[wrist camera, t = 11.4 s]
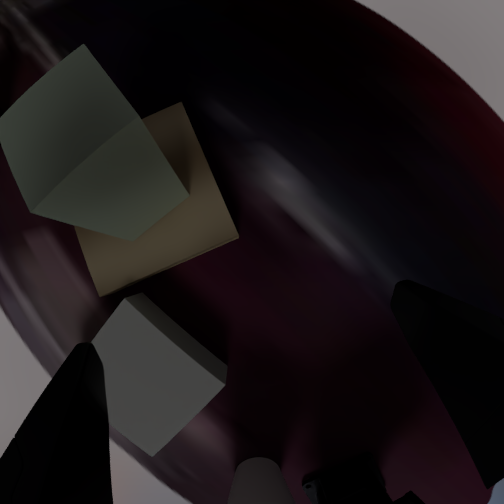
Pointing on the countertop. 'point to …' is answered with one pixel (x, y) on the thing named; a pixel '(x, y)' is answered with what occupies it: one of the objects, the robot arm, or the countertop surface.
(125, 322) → the grey tile block
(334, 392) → the countertop surface
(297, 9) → the countertop surface
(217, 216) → the oak block
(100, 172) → the sage block
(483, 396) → the robot arm
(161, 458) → the countertop surface
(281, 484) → the smoothie
